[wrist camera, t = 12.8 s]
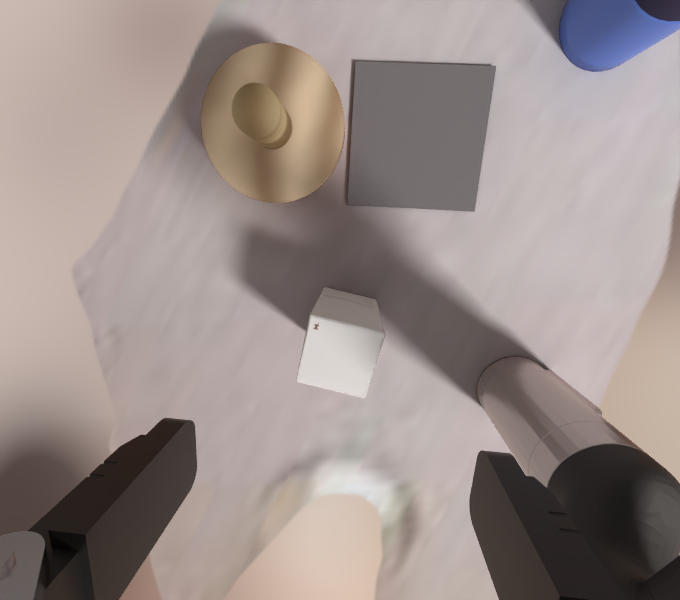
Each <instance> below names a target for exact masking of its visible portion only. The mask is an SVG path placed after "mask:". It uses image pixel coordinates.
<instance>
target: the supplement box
mask: <svg viewBox="0 0 680 600" xmlns="http://www.w3.org/2000/svg"><path fill="white" fill-rule="evenodd" d="M384 337H385V332H384V329H383V325H382V320H381V316H380V311H379V307H378V304H377V300H375V299H371V298H368V297H364V296H360V295H356V294H352V293H348V292H344V291H339V290H335V289H331V288H327V287H324V288H323V290H322V292H321V294H320V296H319V298H318V300H317V302H316V304H315V306H314V308H313V310H312V312H311V313H310V316H309V321H308V325H307V330H306V335H305V339H304V344H303V349H302V354H301V359H300V364H299V369H298V374H297V379H296V381H297V382H299V383H304V384H308V385H312V386H316V387H320V388H324V389H328V390H332V391H336V392H340V393H344V394H348V395H352V396H356V397H361V398H365V397H366V393H367V390H368V387H369V384H370V381H371V377H372V374H373V371H374V368H375V365H376V362H377V359H378V356H379V353H380V350H381V346H382V343H383V340H384Z"/></svg>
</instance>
